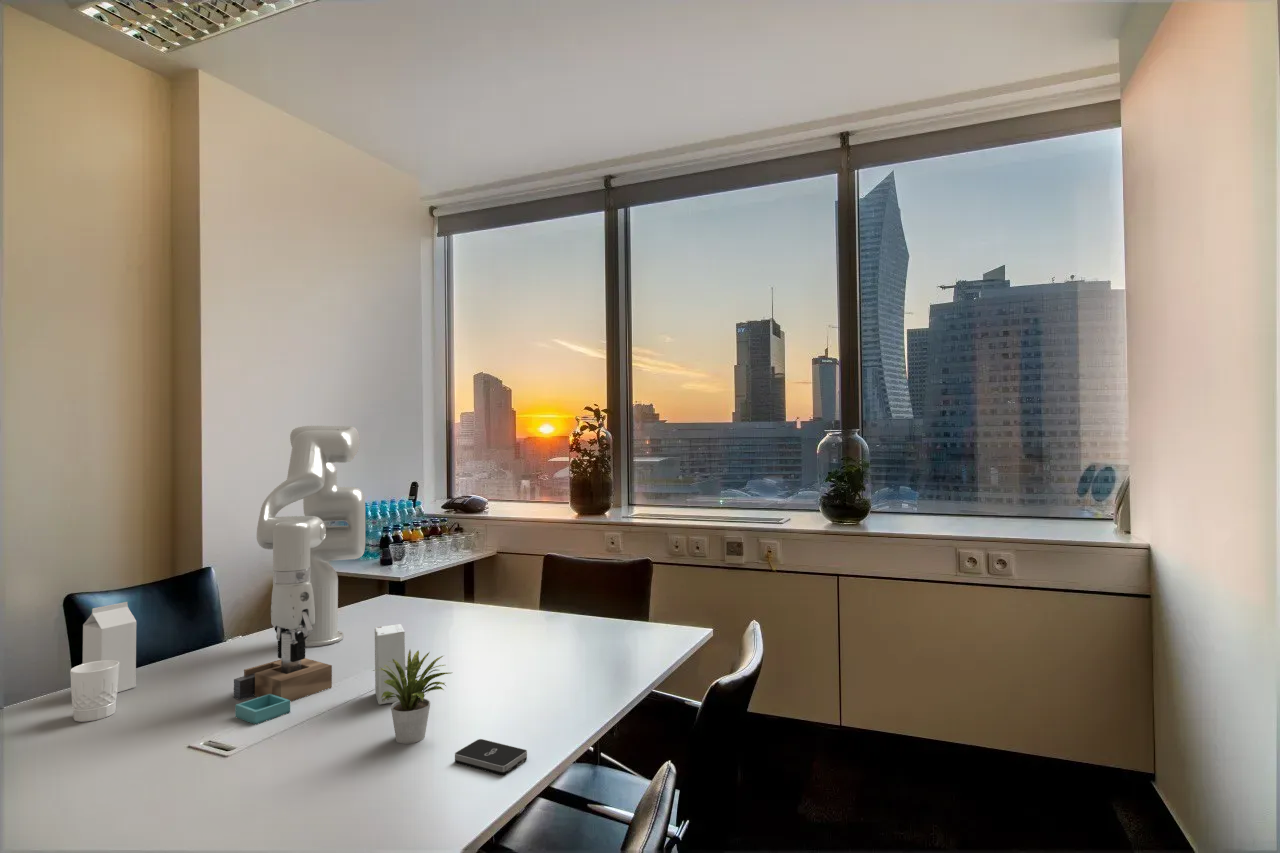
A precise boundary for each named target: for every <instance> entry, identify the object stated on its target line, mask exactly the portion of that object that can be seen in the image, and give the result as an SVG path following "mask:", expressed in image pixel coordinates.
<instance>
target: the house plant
mask: <svg viewBox="0 0 1280 853" xmlns="http://www.w3.org/2000/svg"><path fill="white" fill-rule="evenodd" d="M429 654H430V652H428V653H426V654H425V655H423V657H422V659H421V660H420V659H419V656H420V650H419V649H417V651H416V652H415V653H414V654H413V657H411V656H412V651H411V649H409V651H408V654H407V661H406V662H407V664H406V665H407V666H406V667H407V668H406V677H405V674H404V671H403V669H402V667H401V666H400V664H399V663H398V662H397V661H396V660H394V659H393V663H395V666H396V669H397V670H398V672H399V675H400V679H401V683H402V686H403V689H402V687H401V684H400V682H399V680H398V678H397V676H396V675H395V673H394V672H393V671H392V670H391V669H390V668H389V667H388V666H386V665H384V666H386V667H388V668H389V669H390V671H391V672H392V673H393V674H394V675H395V676H394V675H393V674H392V673H390V672H389V671H387V670H385V669H383V668H381V669H382V670H383V671H385V672H386V673H387V674H388V675H389V676H390V677H391V678H392V679H393V680H391V679H388V680H385V681H384V682H385V683H386V684H388V685H390V686H392V687H394V688H395V689H396V690H397V692H398V693H399V695H397V694H395V695H396V696H397V698H398V699H399V701H397V702H394V703H392V704H391V706H390V710H391V715H392V717H391V718H392V723H393V729H394V736H395V740H396V742H397V743H399V744H402V745H403V744H404V745H407V744H408V745H409V744H415V743H418V742H420V741H422V740H424V739H425V737H426V732H427V726H428V718H429V713H430V708H431V701H430V700H429V699H428V698H425V693H429V692H431V691H436V690H442V691H445V689H444V688H443V687H442V686H440V685H443V686H445V687H447V685H446V683H445V682H441V681H434V682H431V683H429V682H430V681H432V680H433V679H435V678H438V677H440V676H443V675H449V674H450V675H451V674H452V672H438V671H439V669H435V668H438V667H443V666H445V664H440V665H435V664H436V662H438V661H439V660H440V659H441V658H442V657H444V655H441V656H439V657H436V659H434V660H433V661H432V662H430V664H429V665H428V666H427V667H426V668H425V669H424V671H423V672H422V674H420V675H418V673H419V672H420V669H421V667H422V665H423V663H424V661H425V660H426V659H427V657H428V656H429ZM388 662H390V661H388ZM379 668H380V667H379ZM432 669H433V670H432ZM372 671H374V672H375V669H373V670H372ZM435 671H437V673H433V672H435ZM431 673H433V674H431ZM429 674H430V675H429ZM396 678H397V679H396ZM417 678H419V679H417ZM432 685H433V686H432ZM438 685H439V686H438ZM431 686H432V687H431ZM390 695H394V693H392V692H389V691H385V692H384V693H383V695H382V697H385V698H384V699H383V700H385V699H388V698H391V697H396V696H390ZM382 697H381V698H382ZM383 700H382V701H383Z"/></svg>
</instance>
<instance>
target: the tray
mask: <svg viewBox="0 0 1280 853" xmlns="http://www.w3.org/2000/svg"><path fill="white" fill-rule="evenodd" d="M234 709H235V710H234V711H235V712H234V714H235V715H234V716H235V718H236V717H237V718H236V719H239V720H241V719H242V721H244V722H247V723H249V722H250V724H252V723H253V725H255V724H256V725H258V723H259V724H262V723H265V722H267V721H266V720H268V721H270V720H273V719H277V718H279V717H282V716H284V715H283V714H285V715H286V713H287V714H290V713H291V702H290V700H288V699H285V698H282V697H279V696H276V695H273V694H267V695H264V696H261V697H255V698H252V699H249V700H246V701H242V702H240V703H236V704H235V708H234ZM289 712H290V713H289ZM281 715H282V716H281ZM278 716H279V717H278ZM272 718H273V719H272ZM269 719H270V720H269ZM264 721H265V722H264ZM261 722H262V723H261Z"/></svg>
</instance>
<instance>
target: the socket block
mask: <svg viewBox="0 0 1280 853" xmlns="http://www.w3.org/2000/svg"><path fill="white" fill-rule="evenodd" d="M253 673H255V695H254V697H256V696H257V697H256V698H258V697H261V696H264V695H267V694H273V695H276V696H279V697H282V698H285V699H288V700H290V701H291V702H294V701H297V700H299V698H300V699H302V697H303V698H305V696H306V697H308V696H307V695H309V696H312V695H315V694H317V693H320V692H322V690H323V691H326V690H329V689H331V687H332V688H333V685H332V684H333V681H332V680H333V665H332V664H328V663H324V662H321V661H317V660H314V659H310V658H307V657H305V658H304V659H302V660H301V670H298V671H295V672H292V673H288V674H285V673H281V658H279V659H278V660H274V661H271V662H270V661H269V662H267V663H262V664H259V665H256V666H253V667H249V668H248V667H247V668H245V669H244V670H243V676H246V675H250V674H253ZM328 688H329V689H328ZM325 689H326V690H325ZM319 691H320V692H319ZM316 692H317V693H316ZM296 699H297V700H296ZM293 700H294V701H293Z"/></svg>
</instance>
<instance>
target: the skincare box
mask: <svg viewBox="0 0 1280 853" xmlns="http://www.w3.org/2000/svg"><path fill="white" fill-rule="evenodd" d="M405 633H406V631H405V629H404V628H403V625H402V624H401V623H398V624H397V623H396V624H391V625H382V626H375V627H374V670H375V671H374V678H375V679H374V681H375V682H374V683H375V684H374V686H375V688H374V689H375V695H376V696H375V697H376V700H377V703H378V705H385V704H391V703H392V704H393V703H395V702H397V701H399V699H398V698H397V696H396V695H395V694H397V695H399V693H398V692H397V690H396V689H395V688H394V687H392V686H390V685H388V684H386V683H385V682H384V681H385V680H388V679H391V680H393V679H392V678H391V677H390V676H389V675H388V674H387V673H386V672H385V671H383V670H382V669H381V668H383V669H385V670H387V671H389V672H390V673H392V672H391V671H390V669H391V670H392V671H393V672H394V673H395V675H396V676H397V678H398V680H399V682H400V684H401V687H402V689H403V686H402V683H401V679H400V675H399V672H398V670H397V669H396V666H395V663H393V659H394V660H396V661H397V662H398V663H399V664H400V666H401V667H402V669H403V671H404V674H405V677H406V678H407V670H406V646H405V644H406V642H405V641H406V639H405V636H406V634H405ZM388 661H390V662H388ZM384 665H386V666H388V667H389V668H390V669H389V668H388V667H386V666H384ZM379 667H380V668H379ZM392 674H393V673H392ZM393 675H394V674H393ZM395 675H394V676H395ZM397 678H396V679H397ZM385 691H389V692H392V693H394V695H390V696H396V697H391V698H388V699H385V700H383V699H384V698H385V697H382V695H383V693H384V692H385ZM381 697H382V698H381ZM382 700H383V701H382Z"/></svg>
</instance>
